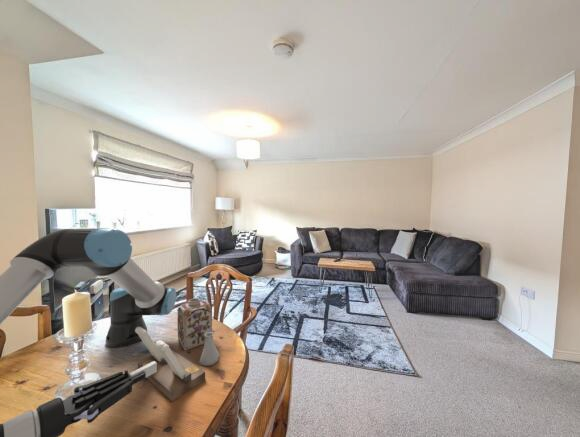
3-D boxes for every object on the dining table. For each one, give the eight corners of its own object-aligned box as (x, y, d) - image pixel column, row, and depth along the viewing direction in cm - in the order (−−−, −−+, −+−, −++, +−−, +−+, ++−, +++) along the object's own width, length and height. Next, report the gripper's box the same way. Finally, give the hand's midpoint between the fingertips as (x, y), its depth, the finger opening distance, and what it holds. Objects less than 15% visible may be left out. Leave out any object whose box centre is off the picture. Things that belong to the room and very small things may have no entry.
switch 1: (159, 362, 79) (140, 334, 74) (152, 356, 83) (132, 329, 78) (165, 357, 81) (146, 329, 76) (157, 352, 84) (138, 324, 79)
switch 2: (182, 380, 71) (162, 349, 66) (173, 373, 74) (152, 343, 69) (188, 374, 72) (168, 344, 67) (178, 367, 76) (159, 337, 71)
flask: (213, 367, 81) (212, 340, 81) (195, 365, 82) (194, 338, 82) (223, 355, 88) (222, 330, 88) (206, 353, 90) (205, 328, 89)
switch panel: (172, 401, 66) (171, 387, 66) (137, 369, 80) (137, 357, 80) (205, 379, 75) (205, 366, 75) (169, 354, 89) (169, 343, 89)
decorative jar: (184, 352, 91) (183, 307, 90) (177, 339, 100) (176, 299, 99) (213, 341, 98) (212, 300, 98) (204, 330, 107) (204, 293, 107)
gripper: (32, 428, 52) (146, 370, 71) (42, 464, 44) (166, 388, 63) (31, 395, 52) (145, 346, 71) (41, 426, 44) (166, 361, 63)
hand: (155, 366), depth 67 cm, fingers closed
